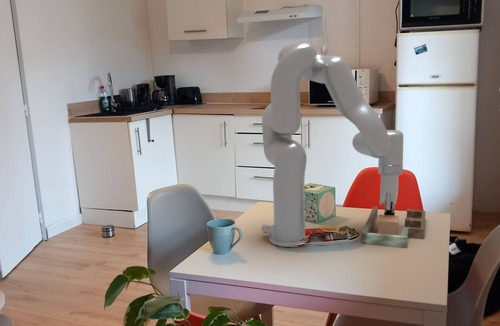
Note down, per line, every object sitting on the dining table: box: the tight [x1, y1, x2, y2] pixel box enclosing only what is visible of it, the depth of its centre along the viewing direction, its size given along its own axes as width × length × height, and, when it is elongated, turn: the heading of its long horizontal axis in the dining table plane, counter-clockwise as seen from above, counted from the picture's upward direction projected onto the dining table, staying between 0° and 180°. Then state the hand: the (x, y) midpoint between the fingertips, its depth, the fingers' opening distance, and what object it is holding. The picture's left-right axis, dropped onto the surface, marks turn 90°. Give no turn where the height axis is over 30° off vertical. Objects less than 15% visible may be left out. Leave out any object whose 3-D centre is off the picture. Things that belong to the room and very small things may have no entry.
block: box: [377, 214, 400, 235], centre depth 154 cm, size 6×7×5 cm
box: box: [360, 206, 426, 248], centre depth 157 cm, size 18×30×3 cm, turn 159°
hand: (389, 223), depth 160 cm, fingers closed
